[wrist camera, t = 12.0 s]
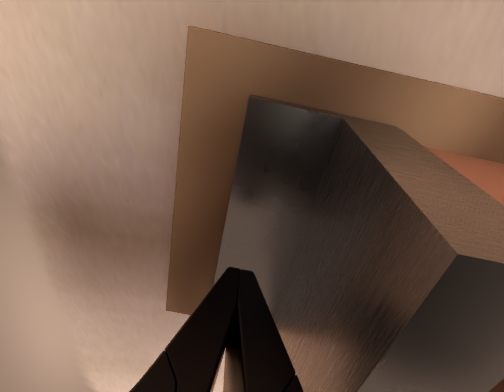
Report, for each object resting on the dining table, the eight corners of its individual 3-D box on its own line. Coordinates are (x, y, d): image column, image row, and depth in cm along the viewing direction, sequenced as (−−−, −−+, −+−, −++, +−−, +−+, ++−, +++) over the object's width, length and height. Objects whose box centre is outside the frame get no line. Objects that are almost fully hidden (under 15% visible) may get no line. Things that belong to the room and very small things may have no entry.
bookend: (397, 126, 10) (611, 285, 4) (308, 318, 15) (335, 524, 8) (250, 93, 9) (211, 203, 3) (210, 300, 14) (166, 497, 8)
